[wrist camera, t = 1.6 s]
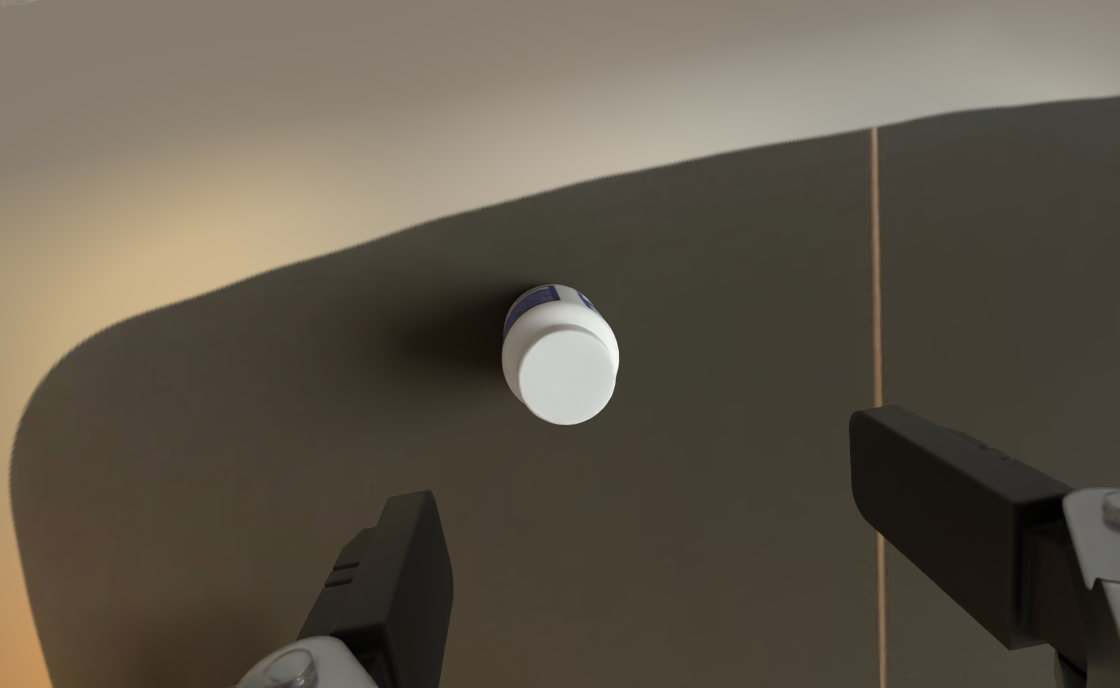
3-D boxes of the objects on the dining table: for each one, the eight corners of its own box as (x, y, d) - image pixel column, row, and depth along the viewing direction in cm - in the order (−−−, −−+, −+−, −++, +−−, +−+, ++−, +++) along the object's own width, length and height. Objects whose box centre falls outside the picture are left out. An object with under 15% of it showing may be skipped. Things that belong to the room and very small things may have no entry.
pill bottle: (496, 369, 32) (488, 430, 23) (512, 275, 31) (510, 302, 22) (590, 384, 32) (617, 448, 24) (609, 292, 31) (644, 326, 23)
